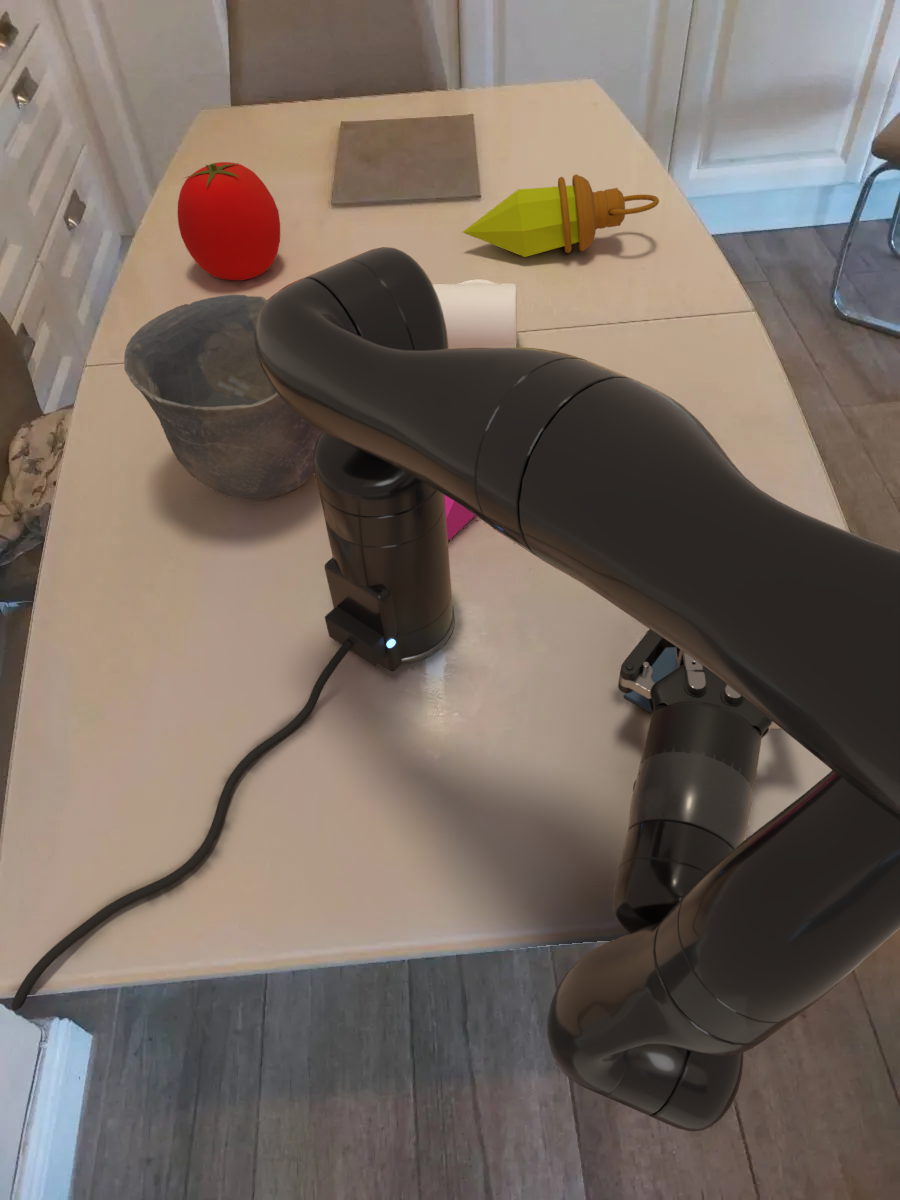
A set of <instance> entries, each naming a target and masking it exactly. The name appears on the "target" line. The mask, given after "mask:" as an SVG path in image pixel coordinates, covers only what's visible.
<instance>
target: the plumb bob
mask: <svg viewBox="0 0 900 1200" xmlns="http://www.w3.org/2000/svg"><path fill="white" fill-rule="evenodd" d="M571 180H572V181H571V183H572V185H567V184H566V180H565V178H564V176H560V177H558V179H557V186H546V187H545V186H544V187H533V188H521V189H520V188H519V189H517V190H515V191H514V192H512V193H511V194H510V195H509V196H507V197H506V198H505V199H504V200H502V201H501V202H500V203H498V204H497V205H496V206H494V207H493V208H491V209H490V210H489V211H488V212H487V213H485V214H484V215H482V216H481V217H480V218H479V219H477V220H476V221H475V222H474V223H472V224H471V225H470V226H468V227H466V229H464V230H463V231H462V234H466V235H467V236H470V237H473V238H476V239H478V240H481V241H482V242H487V244H491V245H493V246H496V247H498V248H501V249H504V250H506V251H509V252H511V253H513V254H516V255H519V256H521V257H524V258H526V257H530V256H533V255H538V254H540V253H545V252H547V251H548V252H549V251H552V250H556V249H559V248H564V249H563V250H564V252H565V253H566V254H570V253H571V251H572V245H574V244H577V246H578V250H579V251H580V252H584V251H585V250H586V249H588V248H589V247H590V246H591V245H592V243H593V242H594V241H595V238H596V237H595V236H596V231H597V230H598V229H601V230H602V229H605V228H613V227H620V226H621V225H622V223H623V222H624V220H625V217H626V215H632V214H638V213H644V212H647V211H650V210H652V209H654V208H656V207H657V206H658V205H659V203H660V199H659V197H658V196H656V195H653V194H631V195H626V196H624V193H623V192H622V191H621V190H620V189H619V188H618V187H614V188H607V189H604V190H602V189H601V190H597V191H593V188H592V185H591V184H590V181H589V180H588V179H586V178H585V177H583V176H581V175H579V174H577V173H576V174H573V175H572V179H571ZM631 201H651V202H650V203H648V204H645V205H642V206H638V207H634V208H633V207H632V208H626V202H631Z"/></svg>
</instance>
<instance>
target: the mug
mask: <svg viewBox="0 0 900 1200" xmlns="http://www.w3.org/2000/svg"><path fill="white" fill-rule="evenodd" d="M432 285H433V287H434V289H435V291H436V293H437V296H438V298H439V301H440V304H441V307H442V311H443V315H444V319H445V323H446V329H447V336H448V345H449V348H482V347H517V333H518V332H517V331H518V330H517V329H518V285H517V283H497V282H495V281H492V280H489V279H481V278H479V279H478V278H475V279H468V280H464V281H461V282H458V283H432Z"/></svg>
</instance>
